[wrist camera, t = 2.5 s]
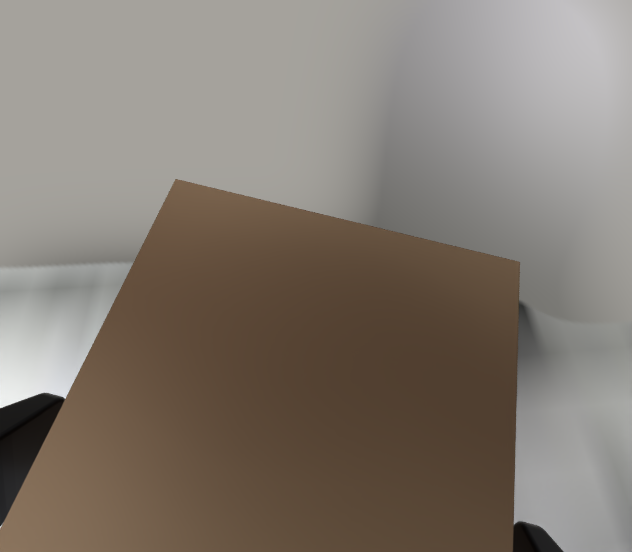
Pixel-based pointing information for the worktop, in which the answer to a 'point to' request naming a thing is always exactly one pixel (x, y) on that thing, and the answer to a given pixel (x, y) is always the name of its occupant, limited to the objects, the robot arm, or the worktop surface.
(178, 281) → the walnut block
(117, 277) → the worktop surface
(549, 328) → the worktop surface
